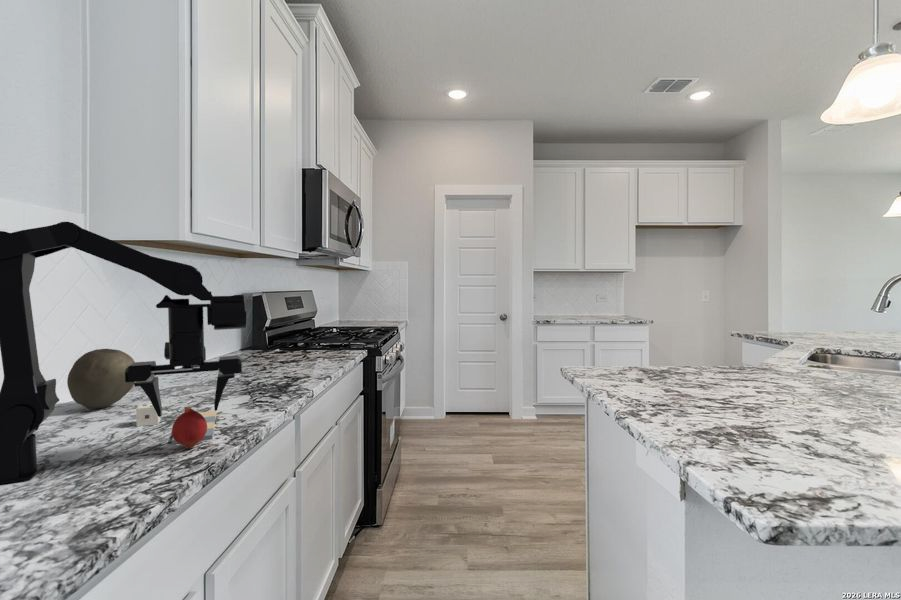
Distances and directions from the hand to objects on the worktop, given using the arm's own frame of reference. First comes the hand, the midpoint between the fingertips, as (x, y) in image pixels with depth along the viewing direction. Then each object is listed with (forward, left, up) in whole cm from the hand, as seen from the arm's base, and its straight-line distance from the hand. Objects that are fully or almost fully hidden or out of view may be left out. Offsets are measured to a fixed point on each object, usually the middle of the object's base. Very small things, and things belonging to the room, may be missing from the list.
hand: (188, 413), depth 86 cm
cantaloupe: (+45, +23, -7) cm, 51 cm away
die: (+23, +10, -7) cm, 26 cm away
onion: (0, 0, -7) cm, 7 cm away
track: (+14, 0, -7) cm, 16 cm away
